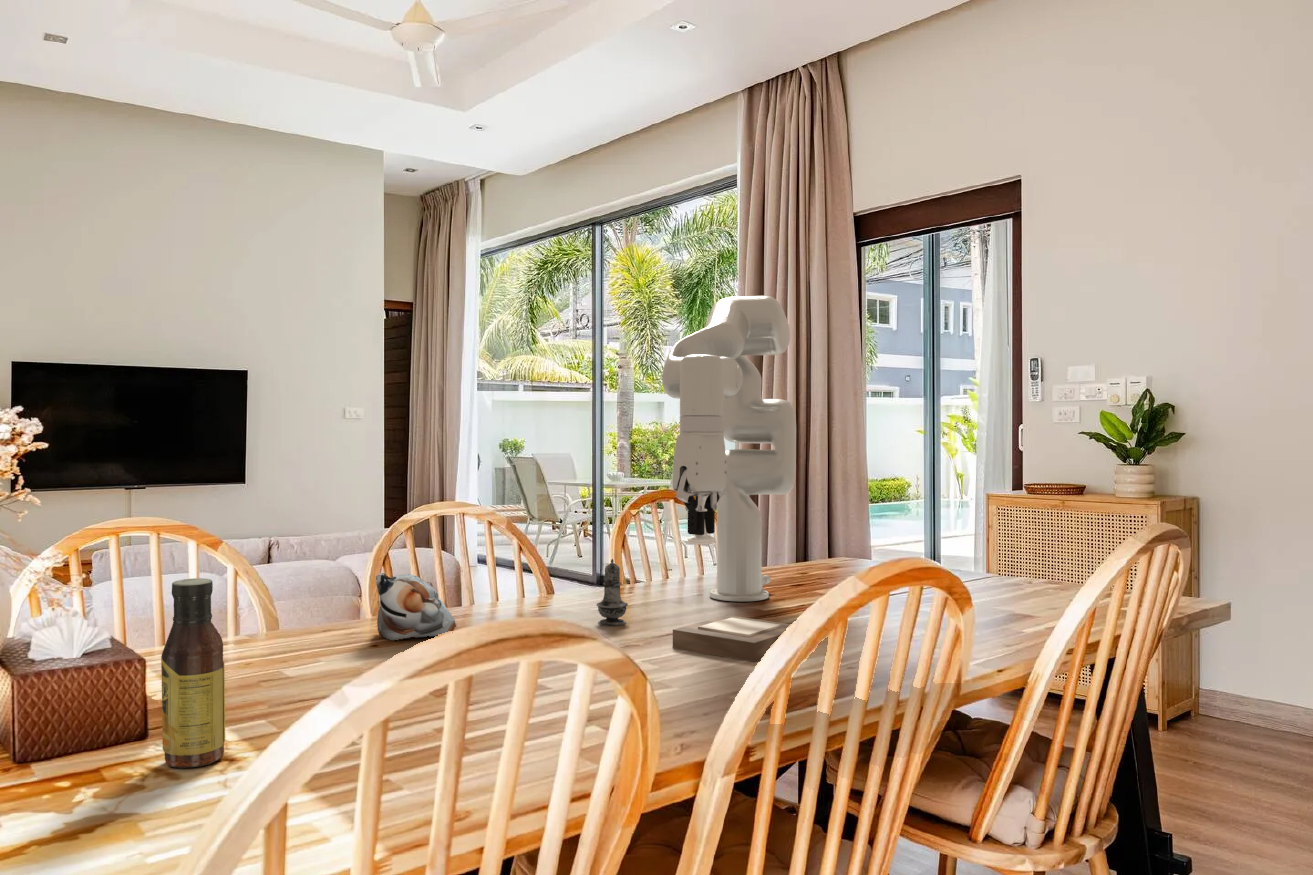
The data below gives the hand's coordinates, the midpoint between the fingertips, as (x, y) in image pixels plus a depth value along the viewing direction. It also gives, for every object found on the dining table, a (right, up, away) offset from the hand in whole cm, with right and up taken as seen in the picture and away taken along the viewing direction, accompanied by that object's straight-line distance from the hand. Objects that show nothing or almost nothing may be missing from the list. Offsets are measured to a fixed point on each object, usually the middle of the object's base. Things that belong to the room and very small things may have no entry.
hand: (701, 532), depth 171 cm
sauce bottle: (-58, -19, -63) cm, 88 cm away
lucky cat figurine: (-49, -18, +1) cm, 53 cm away
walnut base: (+6, -18, -5) cm, 20 cm away
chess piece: (0, -2, 0) cm, 2 cm away
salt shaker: (-16, -18, +13) cm, 28 cm away
